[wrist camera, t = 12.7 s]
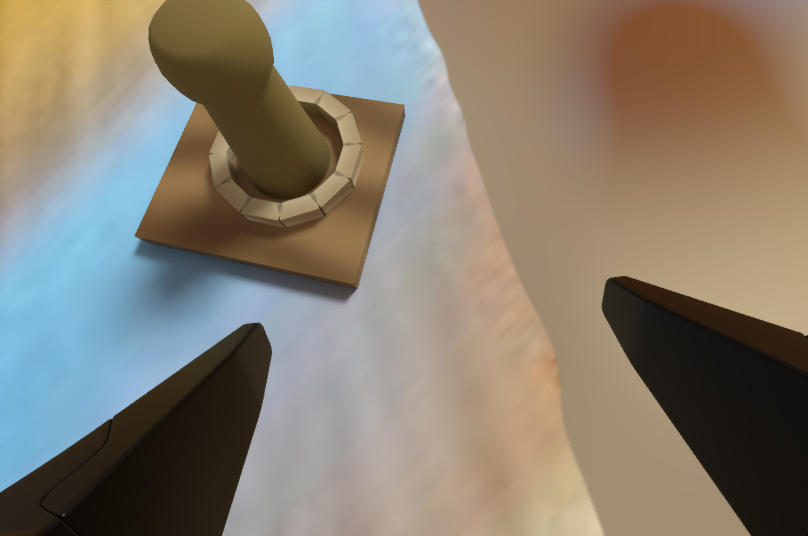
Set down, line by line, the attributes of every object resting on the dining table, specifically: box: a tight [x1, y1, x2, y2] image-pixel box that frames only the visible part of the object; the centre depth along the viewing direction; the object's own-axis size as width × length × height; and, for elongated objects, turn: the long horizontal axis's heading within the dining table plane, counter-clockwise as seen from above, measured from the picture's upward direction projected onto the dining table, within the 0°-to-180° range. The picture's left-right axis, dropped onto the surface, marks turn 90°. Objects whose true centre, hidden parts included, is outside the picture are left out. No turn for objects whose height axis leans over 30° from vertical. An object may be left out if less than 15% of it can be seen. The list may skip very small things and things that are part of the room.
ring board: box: [135, 85, 405, 288], centre depth 25 cm, size 14×16×2 cm
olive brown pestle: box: [149, 0, 331, 199], centre depth 20 cm, size 6×6×11 cm
